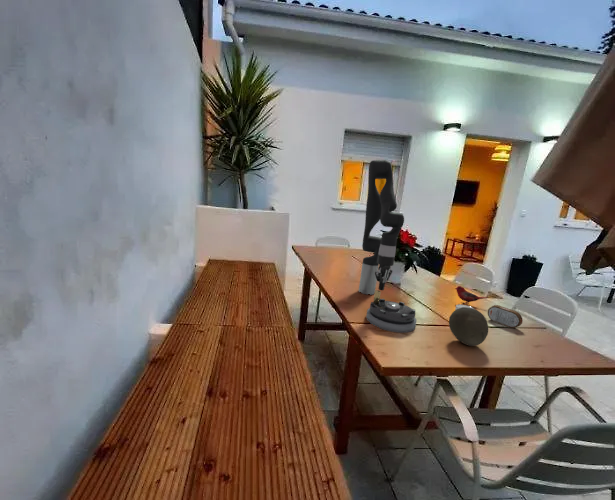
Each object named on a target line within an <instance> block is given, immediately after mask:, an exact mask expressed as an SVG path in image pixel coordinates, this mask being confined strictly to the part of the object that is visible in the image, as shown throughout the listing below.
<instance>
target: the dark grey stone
mask: <svg viewBox="0 0 615 500" xmlns="http://www.w3.org/2000/svg"><path fill="white" fill-rule="evenodd" d="M455 309H456V308H455ZM455 309H454V310H453V312H452V313H451V314H450V315H449V318H448V325H449V326H448V327H449V330H450V331H451V333H452V335H453V336H454V337H455V339H457V340H458V341H460V342H461V343H462V344H464V345H467V346H470V347H475V346H478V345H481V344H482V343H483V342H484V341H485V340H486V339H487V337H488V334H489V323H488V320H487V318H486V317H485V315H484V314H483V313H482V312H481V311H479V310H478V309H475V308H474V309H473V307H472V308H466V307H462V308H459V309H456V310H455Z"/></svg>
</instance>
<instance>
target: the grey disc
mask: <svg viewBox="0 0 615 500" xmlns="http://www.w3.org/2000/svg"><path fill="white" fill-rule="evenodd" d="M381 293H382V290H379V289H378V290H377V289H375V292H374V294H373V296H374V297H373V301H371V303H370V306H369V308H370V310H369V312H370V314H371V315H372V316H374V317H375V318H377V319H379V320H382V321H385V322H389V323H394V324H410V323H412V322H414V319H415V318H416V309H414V308H412V307H410V306H408V305H406V303H405V302H402V301H399V302H395V301H390V300H386V299H385V298H381Z"/></svg>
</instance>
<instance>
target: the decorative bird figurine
mask: <svg viewBox="0 0 615 500" xmlns="http://www.w3.org/2000/svg"><path fill="white" fill-rule="evenodd" d="M454 290H456V294H457V296H458V297H459V299H460V300H462V301H463V302H461V301H460V303H461V304H462V305H470V303H471V302H476V301H478V300H482V299H483V300H484V299H489V297H487V296H478V295H476V294H474V293H473V292H470V291H467V290H466V289H465V288H464V287H463V286H461V285H459V286H458V285H457V287H456V288H454Z"/></svg>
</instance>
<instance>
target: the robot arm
mask: <svg viewBox="0 0 615 500" xmlns="http://www.w3.org/2000/svg"><path fill="white" fill-rule="evenodd" d="M393 174H394V173H393V166H392V163H391V161H390V160H388V159H385V160H384V159H381V160H380V159H378V160H376V159H374V160H371V161H370V162H369V165H368V175H367V176H368V179H367V181H368V184H367V185H368V187H367V198H366V199H367V200H366V205H365V206H366V207H365V208H366V209H365V223H364V232H363V236H362V237H363V238H362V245H361V247H362V250H363V251H364V252H369V253H374V254H373V255H371V256H365V257H364V258H362V263H361V264H362V265H361V271H360V279H359V285H358V292H359V293H360V292H361V293H360V294H363V295H368V294H370V296H371V295H375V290H376V288H377V282H378V291H384V290H385V286H386V283H387V282H388V281H389V280H390V277H391V275H392V273H393V270H392V269H391V267H392V266H394V264H395V259H396V257H395V256H396V251H397V249H396V248H397V242H398V237H399V234H400V233H401V232H400V231H401V230H402V228H403V225H404V223H405V216H404V214H403V213H401V212H396V211H395V210H396V209H397V207H398V205H397V200H396V197H395V191H394V189H395V188H394V176H393ZM384 179H385V183H384V185H383V187H382V189H381V191H380V192H379V191H378V188H377V186H376V185H377V184H376V180H384ZM379 222H380V224H381V226H383V227H385V228H391V229H390V230H389V231H388V230H387V231H384V232H382V233H381V237H380V236H373V235H371V232H372V230H373V229H374V227H375V226H376V225H377V224H378V223H379Z"/></svg>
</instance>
